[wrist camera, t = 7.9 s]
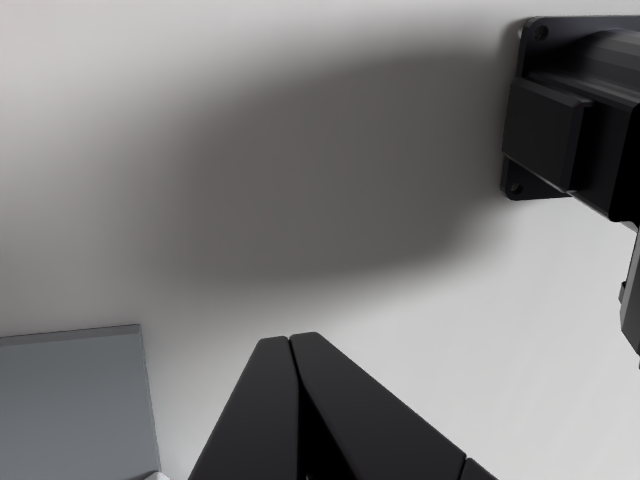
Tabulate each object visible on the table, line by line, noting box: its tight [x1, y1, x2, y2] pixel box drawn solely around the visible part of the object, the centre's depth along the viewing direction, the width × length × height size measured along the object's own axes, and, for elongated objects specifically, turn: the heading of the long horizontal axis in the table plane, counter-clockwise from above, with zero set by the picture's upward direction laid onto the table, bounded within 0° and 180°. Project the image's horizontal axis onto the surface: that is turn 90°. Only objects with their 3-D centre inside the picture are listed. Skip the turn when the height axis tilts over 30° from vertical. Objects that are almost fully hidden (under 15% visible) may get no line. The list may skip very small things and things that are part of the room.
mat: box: [0, 324, 162, 480], centre depth 24 cm, size 11×13×1 cm
